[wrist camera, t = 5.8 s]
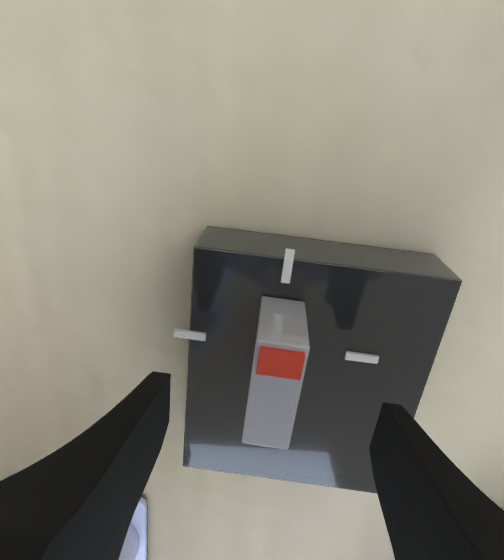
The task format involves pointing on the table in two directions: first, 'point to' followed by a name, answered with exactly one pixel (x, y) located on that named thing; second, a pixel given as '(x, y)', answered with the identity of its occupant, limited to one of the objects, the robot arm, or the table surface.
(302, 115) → the table surface
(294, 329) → the knob
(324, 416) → the panel
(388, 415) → the robot arm
